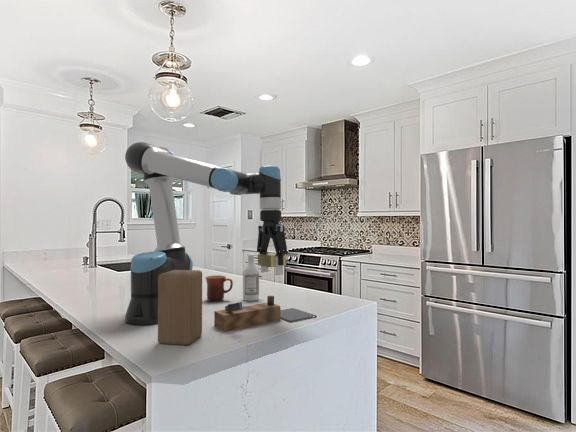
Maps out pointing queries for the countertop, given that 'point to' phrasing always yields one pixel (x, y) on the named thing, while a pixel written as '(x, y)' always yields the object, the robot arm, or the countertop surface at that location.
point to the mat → (294, 315)
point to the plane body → (247, 316)
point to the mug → (216, 287)
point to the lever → (234, 307)
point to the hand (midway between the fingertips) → (271, 273)
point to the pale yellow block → (269, 260)
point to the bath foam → (251, 280)
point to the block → (179, 306)
